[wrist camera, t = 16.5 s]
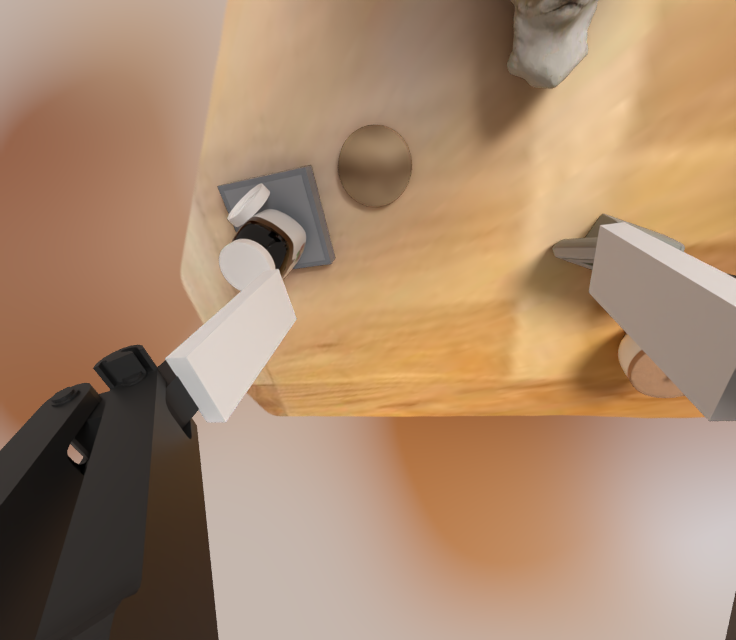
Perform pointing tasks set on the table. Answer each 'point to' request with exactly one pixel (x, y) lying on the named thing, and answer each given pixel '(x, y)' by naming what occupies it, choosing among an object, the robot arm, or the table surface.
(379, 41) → the table surface
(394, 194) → the oak coaster
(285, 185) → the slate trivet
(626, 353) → the lidded jar
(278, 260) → the spread jar
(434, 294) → the table surface
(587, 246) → the digital clock
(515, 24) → the ceramic sculpture
